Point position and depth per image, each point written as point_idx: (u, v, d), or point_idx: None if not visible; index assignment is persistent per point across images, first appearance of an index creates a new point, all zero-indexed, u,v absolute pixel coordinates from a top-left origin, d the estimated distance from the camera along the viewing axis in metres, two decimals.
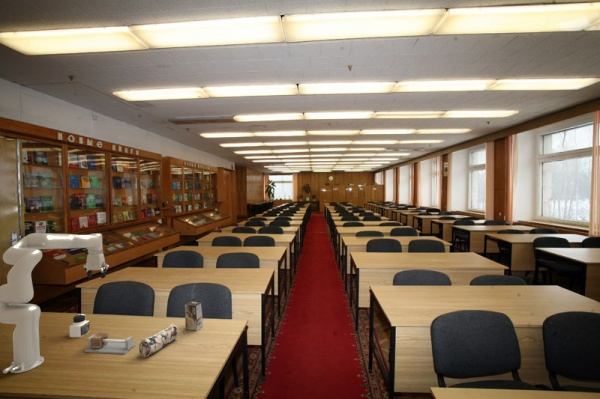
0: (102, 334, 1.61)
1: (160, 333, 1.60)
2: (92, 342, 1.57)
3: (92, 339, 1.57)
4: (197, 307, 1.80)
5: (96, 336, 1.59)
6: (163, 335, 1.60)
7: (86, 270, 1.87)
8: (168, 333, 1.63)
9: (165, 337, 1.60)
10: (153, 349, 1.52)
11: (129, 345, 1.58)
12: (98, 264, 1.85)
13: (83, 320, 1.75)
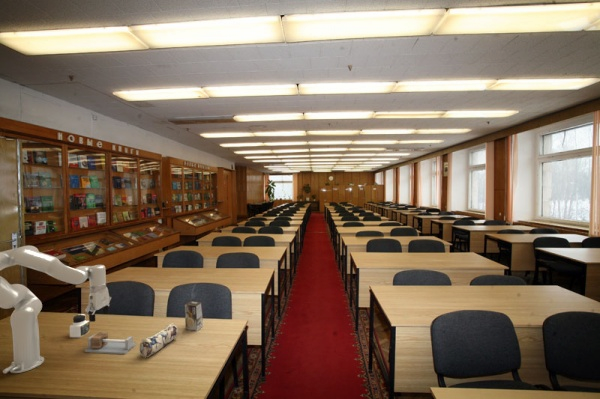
0: (102, 334, 1.61)
1: (160, 333, 1.60)
2: (92, 342, 1.57)
3: (92, 339, 1.57)
4: (197, 307, 1.80)
5: (96, 336, 1.59)
6: (163, 335, 1.60)
7: (92, 313, 1.54)
8: (168, 333, 1.63)
9: (165, 337, 1.60)
10: (154, 349, 1.52)
11: (129, 345, 1.58)
12: (108, 297, 1.63)
13: (83, 320, 1.75)
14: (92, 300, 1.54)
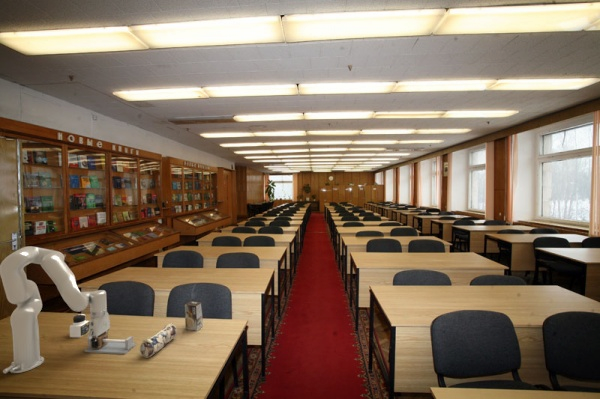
0: (102, 334, 1.61)
1: (160, 333, 1.60)
2: None
3: None
4: (197, 307, 1.80)
5: None
6: (163, 335, 1.60)
7: (95, 340, 1.55)
8: (168, 333, 1.63)
9: (165, 336, 1.61)
10: (156, 349, 1.52)
11: (129, 345, 1.58)
12: (109, 322, 1.64)
13: (83, 320, 1.75)
14: (93, 326, 1.55)
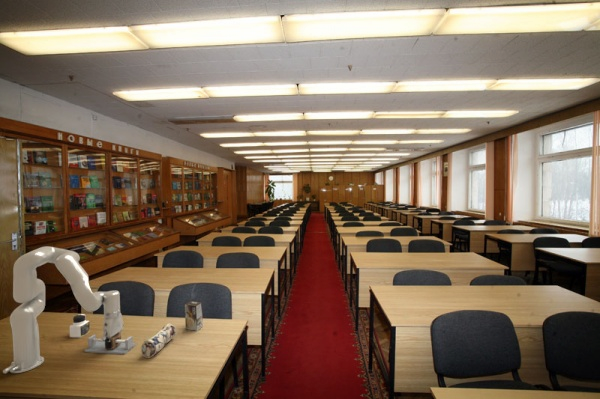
0: (115, 335, 1.60)
1: (160, 333, 1.60)
2: None
3: None
4: (197, 307, 1.80)
5: None
6: (164, 335, 1.60)
7: (109, 340, 1.55)
8: (167, 332, 1.64)
9: (166, 336, 1.61)
10: (157, 349, 1.53)
11: (129, 345, 1.58)
12: (122, 323, 1.63)
13: (83, 320, 1.75)
14: (106, 327, 1.54)
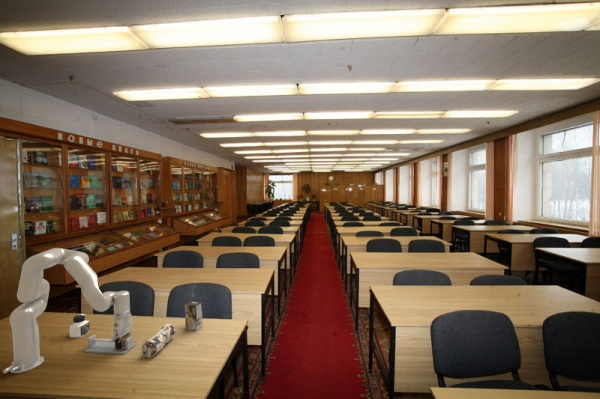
0: (125, 335, 1.59)
1: (160, 333, 1.60)
2: None
3: None
4: (197, 307, 1.80)
5: None
6: (164, 334, 1.61)
7: (119, 341, 1.54)
8: (167, 332, 1.64)
9: (166, 336, 1.61)
10: (158, 348, 1.53)
11: (129, 345, 1.58)
12: (131, 323, 1.62)
13: (83, 320, 1.75)
14: (117, 327, 1.53)
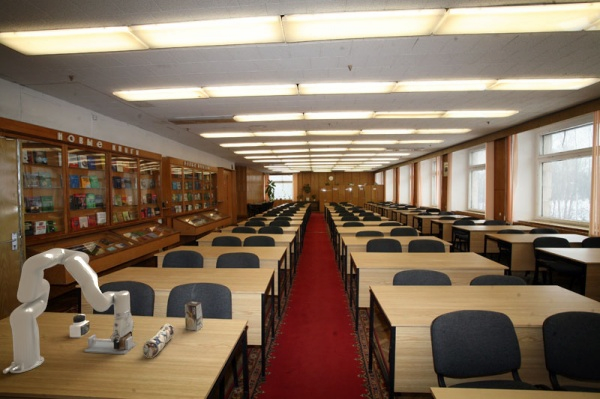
0: (125, 335, 1.59)
1: (160, 333, 1.60)
2: None
3: None
4: (197, 307, 1.80)
5: (120, 337, 1.57)
6: (164, 334, 1.61)
7: (117, 340, 1.53)
8: (167, 332, 1.64)
9: (166, 336, 1.61)
10: (160, 348, 1.53)
11: (129, 345, 1.58)
12: (132, 323, 1.62)
13: (83, 320, 1.75)
14: (117, 327, 1.53)
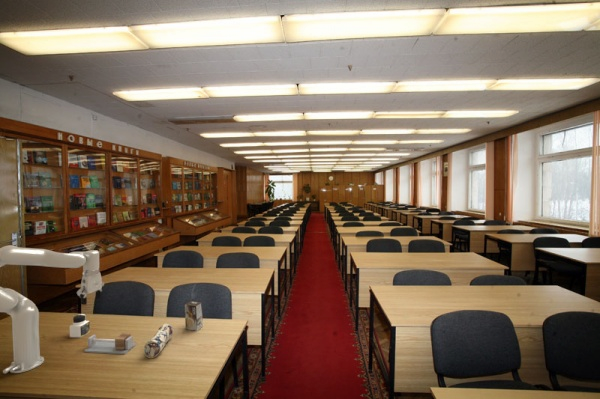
0: (125, 335, 1.59)
1: (160, 333, 1.61)
2: (116, 343, 1.56)
3: (116, 340, 1.56)
4: (197, 307, 1.80)
5: (120, 337, 1.57)
6: (164, 334, 1.61)
7: (84, 296, 1.59)
8: (167, 332, 1.64)
9: (166, 336, 1.62)
10: (161, 348, 1.53)
11: (129, 345, 1.58)
12: (101, 282, 1.68)
13: (83, 320, 1.75)
14: (84, 284, 1.60)
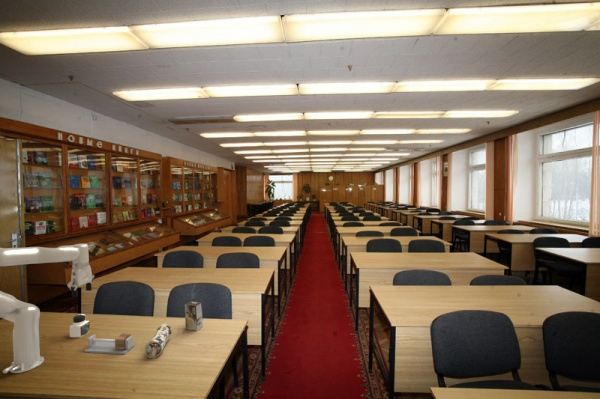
0: (125, 335, 1.59)
1: (160, 333, 1.61)
2: (116, 343, 1.56)
3: (116, 340, 1.56)
4: (197, 307, 1.80)
5: (120, 337, 1.57)
6: (164, 334, 1.61)
7: (74, 288, 1.62)
8: (166, 332, 1.64)
9: (166, 335, 1.62)
10: (162, 348, 1.54)
11: (129, 345, 1.58)
12: (91, 275, 1.71)
13: (83, 320, 1.75)
14: (74, 276, 1.62)
